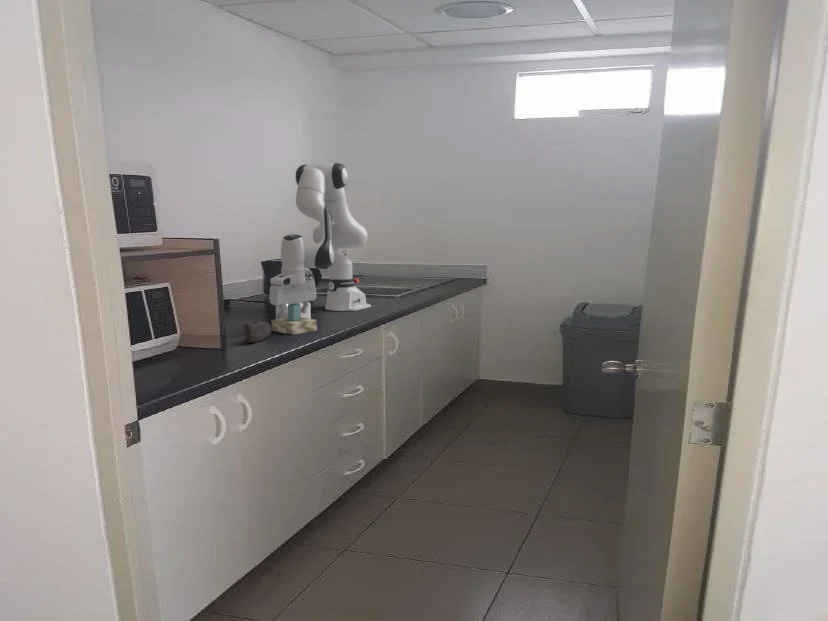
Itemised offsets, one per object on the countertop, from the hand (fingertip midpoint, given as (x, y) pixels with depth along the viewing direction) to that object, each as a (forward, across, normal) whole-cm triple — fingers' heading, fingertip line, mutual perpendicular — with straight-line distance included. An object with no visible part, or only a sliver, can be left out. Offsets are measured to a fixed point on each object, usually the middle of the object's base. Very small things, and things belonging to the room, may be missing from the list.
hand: (294, 314), depth 240 cm
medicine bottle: (+6, -16, -16) cm, 24 cm away
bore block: (+6, 0, 0) cm, 6 cm away
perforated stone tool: (+6, +20, +5) cm, 22 cm away
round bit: (+6, -6, -14) cm, 16 cm away
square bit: (+6, 0, 0) cm, 6 cm away
